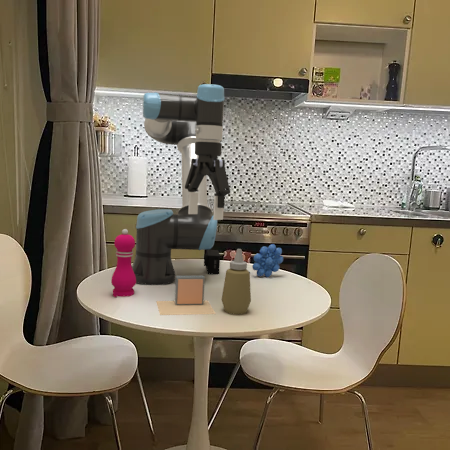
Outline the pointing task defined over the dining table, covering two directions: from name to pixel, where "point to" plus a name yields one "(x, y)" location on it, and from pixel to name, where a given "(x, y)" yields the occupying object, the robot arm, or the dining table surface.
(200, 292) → the tile
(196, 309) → the mat
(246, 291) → the squeeze bottle
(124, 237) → the pepper mill
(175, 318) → the dining table surface
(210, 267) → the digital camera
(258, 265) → the grapes
